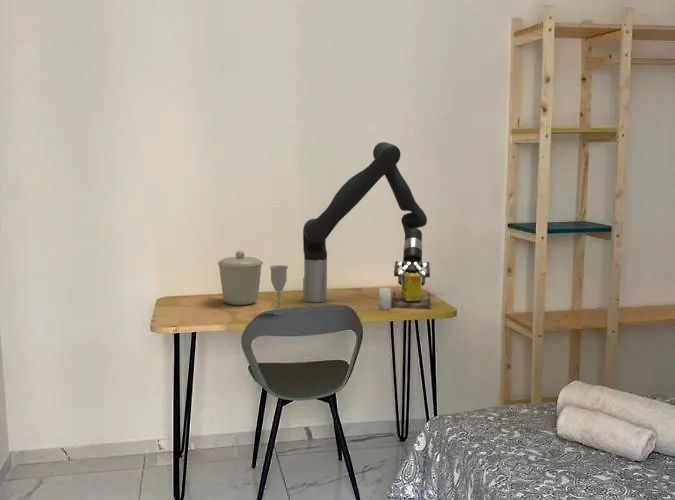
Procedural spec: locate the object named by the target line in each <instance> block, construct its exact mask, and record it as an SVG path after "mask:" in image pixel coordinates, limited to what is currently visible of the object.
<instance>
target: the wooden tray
mask: <svg viewBox="0 0 675 500" xmlns="http://www.w3.org/2000/svg"><path fill="white" fill-rule="evenodd" d="M396 293H397V292H396V291H393V292H392V294H391V308H393V309H395V308H396V309H418V310H419V309H420V310H421V309H424V310H425V309H426V310H428V309H429V310H431V293H430V292H427V298H420V302H416V303H406V302H405V301H403V300H402V297H400V298H399V297H396V295H397V294H396Z"/></svg>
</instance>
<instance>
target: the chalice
mask: <svg viewBox="0 0 675 500" xmlns="http://www.w3.org/2000/svg"><path fill="white" fill-rule="evenodd" d="M288 268H289V267H288V266H287V265H281V264H280V265H278V264H277V265H276V264H275V265H270V266H269V269H270V281H271V284H272V286H273V288H274V290H275V291H276V292H277V295H276V297H277V300H276V302H277V303H276V304H277V306H276V307H274V309H276V308H283V307H282V306H281V302H282V301H281V296H282V295H281V292H283V290H284V287H285V285H286V283H287V278H288V275H287V274H288V273H287V271H288Z"/></svg>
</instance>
